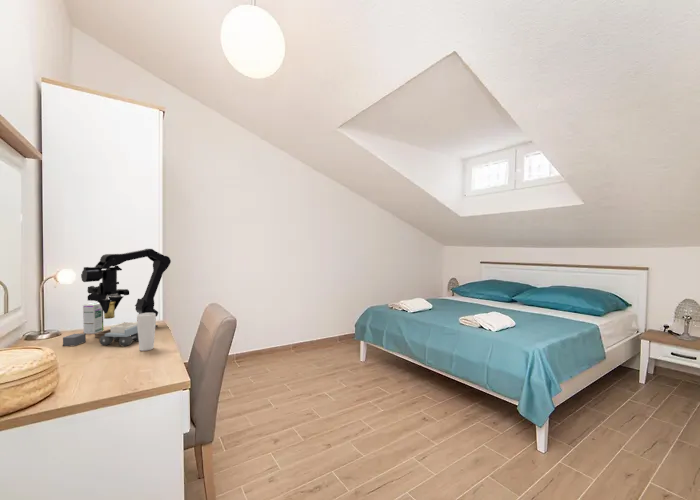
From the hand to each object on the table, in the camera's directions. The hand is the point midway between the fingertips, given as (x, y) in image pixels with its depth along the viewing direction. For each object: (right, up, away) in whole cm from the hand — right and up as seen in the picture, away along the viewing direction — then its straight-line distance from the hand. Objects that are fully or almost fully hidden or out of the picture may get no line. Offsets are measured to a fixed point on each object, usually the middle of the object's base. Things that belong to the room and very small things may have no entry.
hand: (109, 312), depth 156 cm
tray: (+14, -7, -9) cm, 18 cm away
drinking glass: (+30, -12, -19) cm, 37 cm away
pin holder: (0, -11, 0) cm, 11 cm away
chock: (-6, -12, -12) cm, 18 cm away
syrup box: (-13, -11, +6) cm, 18 cm away
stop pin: (0, -3, 0) cm, 3 cm away
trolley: (+14, -12, -10) cm, 21 cm away
